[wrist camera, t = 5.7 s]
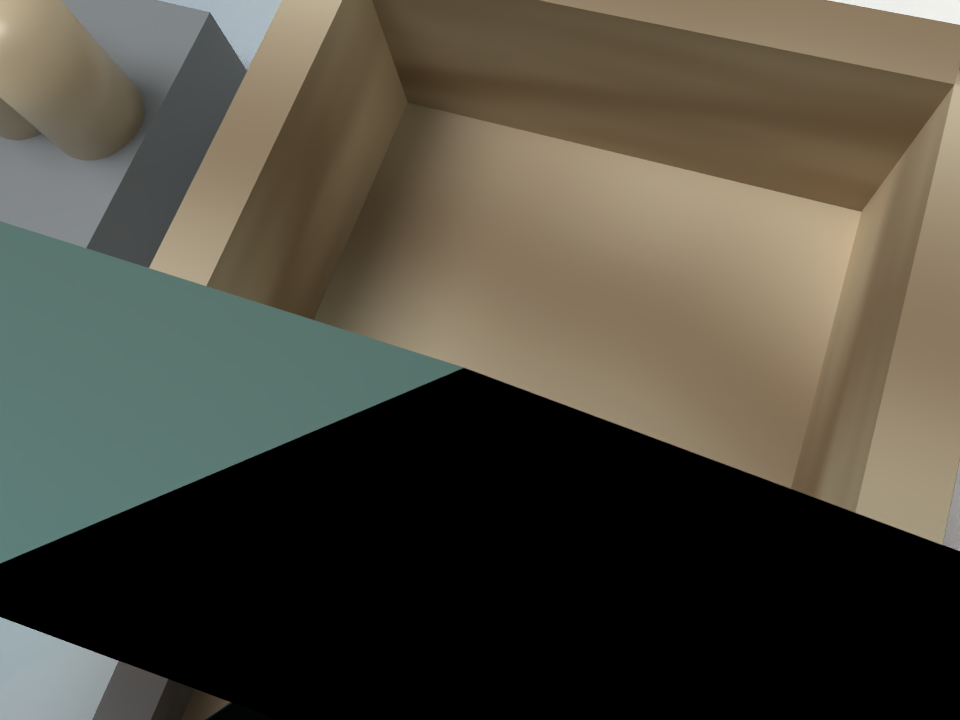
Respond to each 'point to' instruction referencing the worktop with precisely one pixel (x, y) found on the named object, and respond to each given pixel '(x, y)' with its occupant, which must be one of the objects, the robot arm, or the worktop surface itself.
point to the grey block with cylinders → (107, 117)
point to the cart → (519, 374)
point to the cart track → (152, 698)
